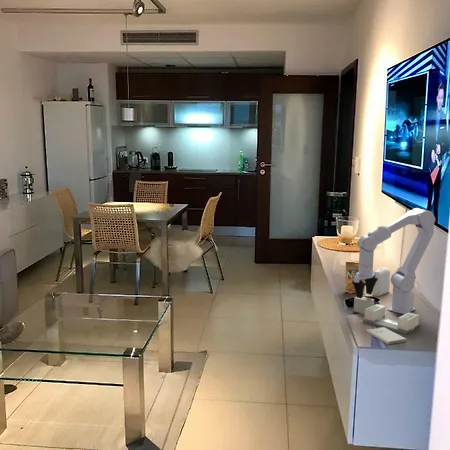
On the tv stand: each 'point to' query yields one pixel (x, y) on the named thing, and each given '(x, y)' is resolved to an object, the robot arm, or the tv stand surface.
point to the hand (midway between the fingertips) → (364, 295)
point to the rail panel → (391, 320)
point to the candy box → (351, 275)
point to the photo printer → (382, 282)
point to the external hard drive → (386, 335)
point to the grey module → (362, 304)
